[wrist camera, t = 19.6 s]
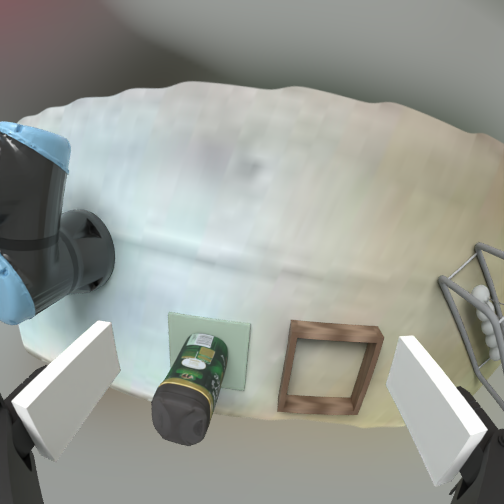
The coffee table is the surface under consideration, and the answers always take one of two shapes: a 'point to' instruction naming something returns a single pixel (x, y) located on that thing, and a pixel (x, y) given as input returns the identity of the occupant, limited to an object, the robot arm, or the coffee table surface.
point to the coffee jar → (190, 390)
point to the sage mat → (225, 330)
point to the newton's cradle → (481, 314)
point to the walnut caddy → (335, 334)
